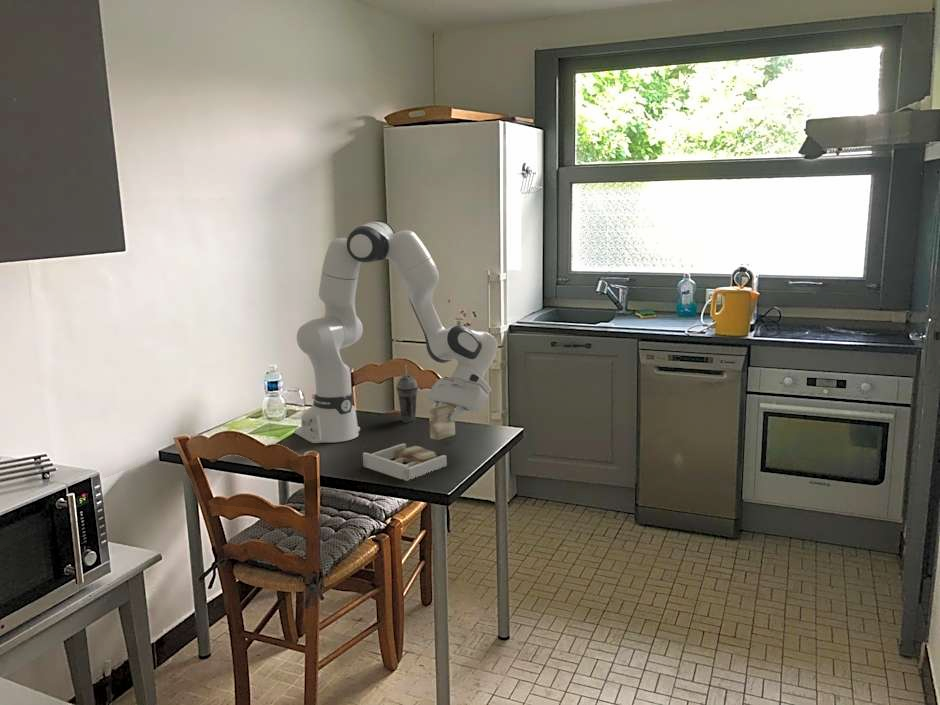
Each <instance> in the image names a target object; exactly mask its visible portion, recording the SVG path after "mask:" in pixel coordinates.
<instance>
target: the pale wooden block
mask: <svg viewBox="0 0 940 705" xmlns="http://www.w3.org/2000/svg"><path fill="white" fill-rule="evenodd" d="M454 411H455V408H454V405H451V404H442V405H439V406H438V405H437V406H436V405H435V406H433V407H429V409H428V413H429V414H428V418H429V434H430V435H429V438H430V439H431V440H432V439H433V440H436V441H440V440H443V439H446V438H449V437H452V436H455V435H456V419H455V420H454V421H450V420H449V419H448V418H447V417H448V416H449V414H450V413H453V412H454Z"/></svg>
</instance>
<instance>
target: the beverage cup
mask: <svg viewBox="0 0 940 705" xmlns="http://www.w3.org/2000/svg"><path fill="white" fill-rule="evenodd" d="M404 370H405V375H403V376H402V377H401V378H399V380H398V382H397V385H396V392H397V394H398V400H399V411H400V417H401V422H402V421H403V423H412V421H413V420H415V421H416V413H417V412H416V411H417V397H418V396H417V394H418V389H419V386H418V383H417V380H416V379H415V378H414V377H413V376H411V375H408V371H407V370H408V367H407V363H405V364H404Z"/></svg>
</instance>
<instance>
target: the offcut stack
mask: <svg viewBox="0 0 940 705" xmlns="http://www.w3.org/2000/svg"><path fill="white" fill-rule="evenodd" d="M436 457H438V454H436V452H435V451H432V450H429V449H427V448H425V447H421V446H418V445H412V446H410V447H407V446H406V448H404V449H401V450H398V451H396V455H395V458H394V460H396V459H399V458H403V463H406V464H408V463H411V462H415V465H417V464H420V463H423V462H425V461H428V460H431V459H434V458H436Z"/></svg>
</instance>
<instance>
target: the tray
mask: <svg viewBox="0 0 940 705" xmlns="http://www.w3.org/2000/svg"><path fill="white" fill-rule="evenodd" d="M406 447H407V444H406V443H400V444H397V445H396V444H395V445H394V446H391V447H389V448H388V447H387V448H385V449H381V450H379V451H375V452H373V453H369V452H363V453H362V462H363V463H362V465H363V466H364V468H367V469H369V470H372V471H375V472H378V473H382V474H385V475H387V476H391V477H393V478H396V479H399V480H402V479H403V481H406V482H408V481H411V480H413V479H415V477H416V478H418V476H419V477H421V476H424V475H427V474H429V473H432V472H434V470H435V471H437V470H440V469H442V467H443V468H444V467H447V466H448V462H447V461H448V460H447V455H444V454H441V455H440V456H437V457H436V458H434V459H431V460H428V461H425V462H423V463H420V464H417V465H415V462H411V463H405V464H404V462H403V458H399V459H395V455H396V451H398V450H401V449H404V448H406ZM393 459H394V460H393ZM431 471H432V472H431ZM428 472H429V473H428ZM426 473H427V474H426ZM410 479H411V480H410Z"/></svg>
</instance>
